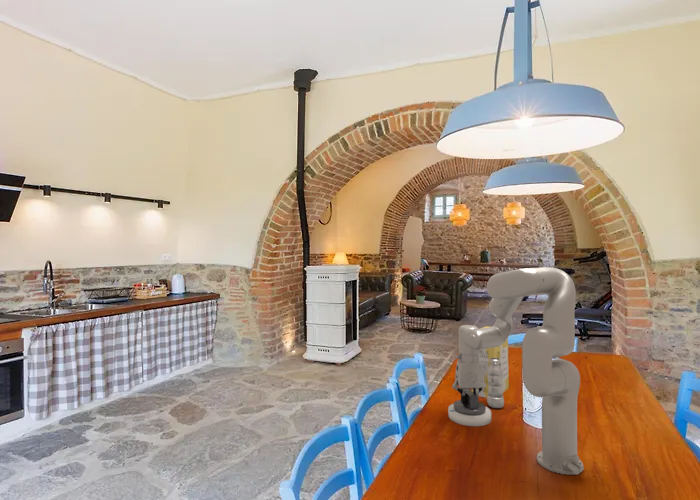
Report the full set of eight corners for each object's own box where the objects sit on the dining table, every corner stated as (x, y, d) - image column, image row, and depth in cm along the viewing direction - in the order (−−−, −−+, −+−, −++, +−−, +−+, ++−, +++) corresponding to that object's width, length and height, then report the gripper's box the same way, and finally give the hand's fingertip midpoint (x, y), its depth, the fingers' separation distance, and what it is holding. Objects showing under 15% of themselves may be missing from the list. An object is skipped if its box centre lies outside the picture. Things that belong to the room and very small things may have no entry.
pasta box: (486, 383, 198) (486, 326, 198) (508, 388, 192) (508, 328, 192) (471, 394, 184) (470, 332, 184) (494, 399, 178) (494, 335, 178)
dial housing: (499, 424, 152) (499, 415, 152) (458, 427, 150) (458, 418, 150) (479, 408, 168) (479, 400, 168) (442, 410, 166) (442, 402, 166)
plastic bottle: (505, 410, 165) (505, 361, 165) (487, 409, 167) (487, 360, 167) (502, 404, 172) (502, 357, 172) (486, 403, 173) (485, 356, 173)
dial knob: (491, 414, 154) (491, 396, 154) (461, 416, 152) (460, 398, 152) (477, 402, 166) (476, 386, 166) (448, 404, 164) (448, 388, 164)
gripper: (452, 361, 154) (452, 409, 154) (493, 358, 157) (494, 406, 157) (444, 356, 162) (445, 402, 162) (484, 354, 164) (484, 399, 164)
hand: (469, 404), depth 159 cm, fingers open, 3 cm apart
